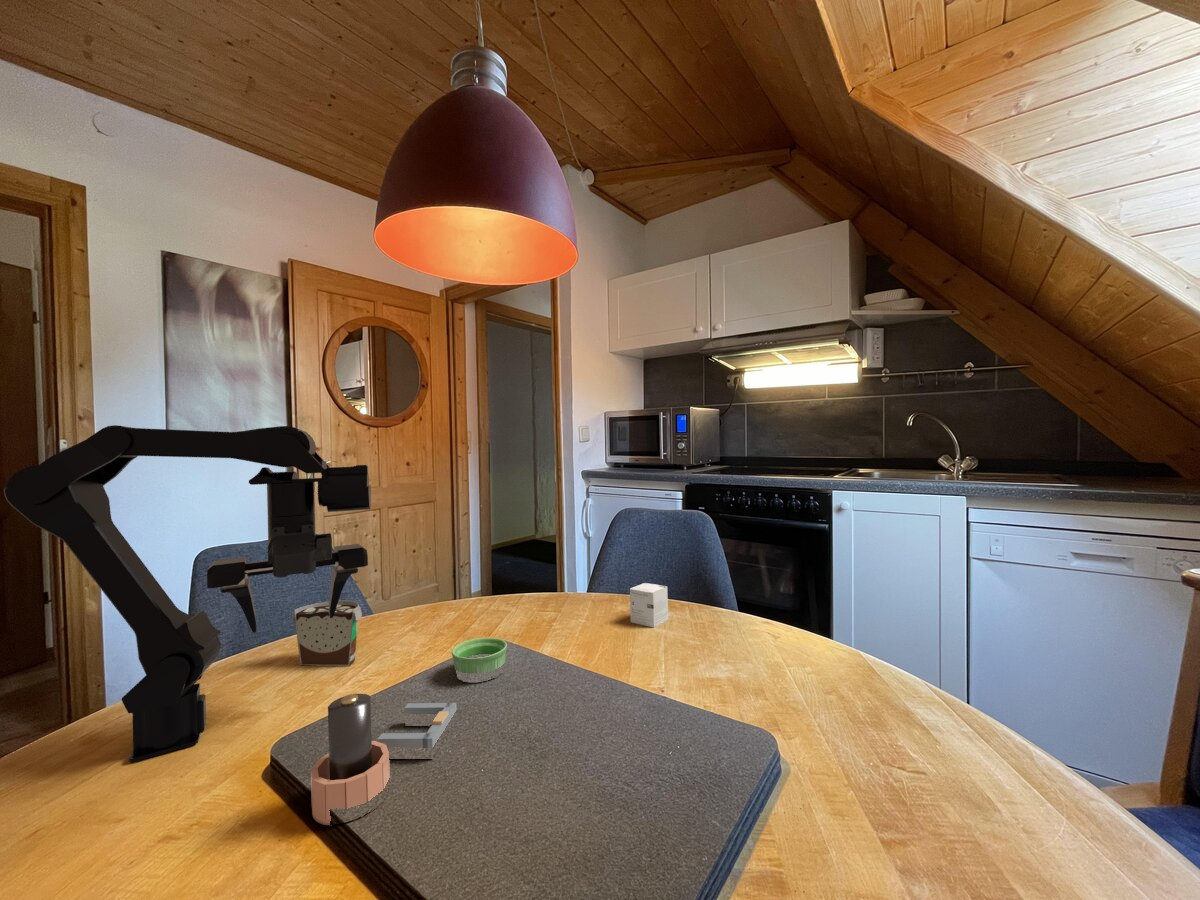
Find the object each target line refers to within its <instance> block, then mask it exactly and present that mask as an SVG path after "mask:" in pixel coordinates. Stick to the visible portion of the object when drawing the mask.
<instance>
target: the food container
mask: <svg viewBox="0 0 1200 900" xmlns="http://www.w3.org/2000/svg"><path fill="white" fill-rule="evenodd" d="M362 617H363V612H362V608H361V606H360V605H359V603H358V602H357V601H354V600H348V599H345V600H342V599H339V601H338V604H337V607H336V610H335V613H334V616H333V618H330V617H329V601H324V602H322V601H321V602H317V603H312V604H308V605H307V604H306V605H304V606H300V607H298V608H295V609H294V610H293V613H292V617H291V622H294V623H295V632H296V640H297V641H296V642H297V648H298V657H299V664H300V665H325V666H324V667H351V666H352V665H353V664H354V662H355V660H356V653H357V652H356V649H357V636H358V623H359V622H358V621H359V620H360V619H362Z"/></svg>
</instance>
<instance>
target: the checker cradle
mask: <svg viewBox="0 0 1200 900" xmlns="http://www.w3.org/2000/svg"><path fill="white" fill-rule="evenodd" d="M456 710H458V709H457V702H422V703H421V702H418V703H415V702H414V703H411V702H410V703H409V702H408V703H407V704H406V705H405V706H404V709H403V712H404V713H408V714H409V713H410V714H434V715H435V714H437V715H436V717H435V718H434V720H433V721H432V726H429V728H428V730H427V731H426V732H396V733H395V732H393V733H392V732H391V733H390V732H388V733H387V732H386V733H385V732H384V733H381V734H380V735H379V737H377V738H376V739H377V740H376V741H377V742H380V743H383V744H385V745H386V746H387V747H390V748H391V747H401V748H402V747H403V748H404V747H412V748H413V747H415V748H416V747H417V748H421V747H422V748H433V747H434V745H435V743H436V742H437V740H438V739H439V737H440V736H441V734H442V733H443V731H444V730H445V728H446V726H447V725H448V723H449V722H450V720H451V718H452V717H453V715H454V713H455V712H456ZM404 713H403V714H404Z"/></svg>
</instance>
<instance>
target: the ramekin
mask: <svg viewBox="0 0 1200 900" xmlns="http://www.w3.org/2000/svg"><path fill="white" fill-rule="evenodd" d="M507 649H508V644H507V642H506V641H505V640H504V639H502V638H498V637H476V638H472V639H471V638H470V639H467V640H465V641H463V642H460V643H458V644H456V645H455V646H454V647H453V648H452V650H451V656H452V659H453V665H454V669H455V668H456V670H458V671H459V672H462V673H469V674H470V673H476V674H478V673H485V672H490V671H493V670H495V669H498V668H499V667H501V666H502V665H503V664H504V663H505V664H506V652H507ZM479 654H492V655H489V656H484V657H477V658H467V657H469V656H472V655H479Z"/></svg>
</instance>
